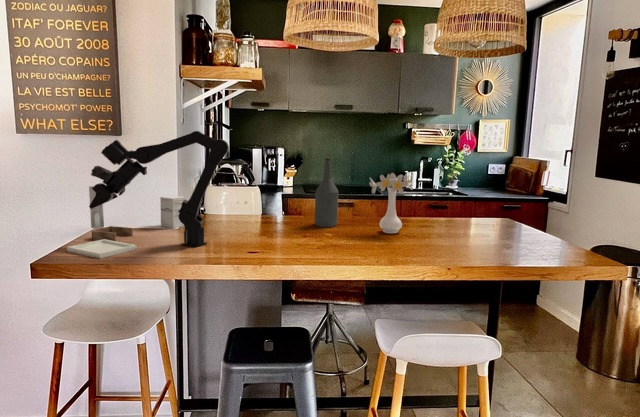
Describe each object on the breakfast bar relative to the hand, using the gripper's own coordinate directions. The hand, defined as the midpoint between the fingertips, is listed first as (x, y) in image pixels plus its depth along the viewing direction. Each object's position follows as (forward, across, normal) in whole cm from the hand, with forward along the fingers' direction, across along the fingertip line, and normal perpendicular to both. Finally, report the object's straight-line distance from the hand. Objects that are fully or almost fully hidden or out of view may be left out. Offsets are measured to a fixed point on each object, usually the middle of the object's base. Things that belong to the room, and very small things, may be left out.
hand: (92, 206), depth 160 cm
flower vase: (-69, -20, +89) cm, 114 cm away
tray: (+6, +8, +13) cm, 16 cm away
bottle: (-51, -36, +71) cm, 95 cm away
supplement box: (-5, -34, +25) cm, 42 cm away
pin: (+4, 0, +6) cm, 7 cm away
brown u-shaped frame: (+7, -12, +12) cm, 18 cm away
